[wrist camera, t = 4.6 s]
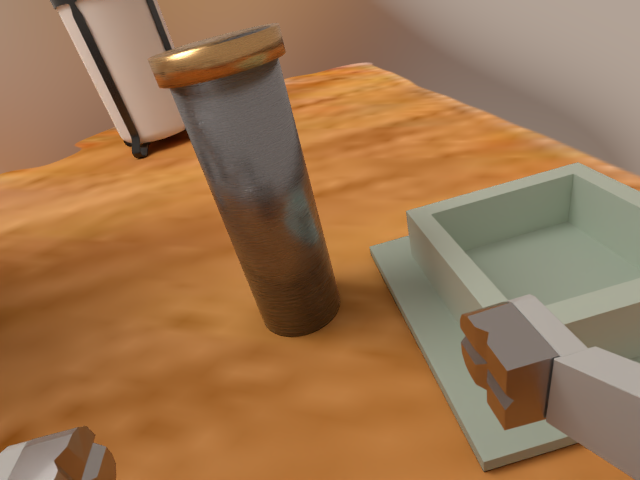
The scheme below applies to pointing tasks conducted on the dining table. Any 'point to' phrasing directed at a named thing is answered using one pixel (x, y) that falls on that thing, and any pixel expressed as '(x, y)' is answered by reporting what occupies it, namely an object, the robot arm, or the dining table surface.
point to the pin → (255, 170)
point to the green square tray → (518, 282)
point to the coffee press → (125, 64)
